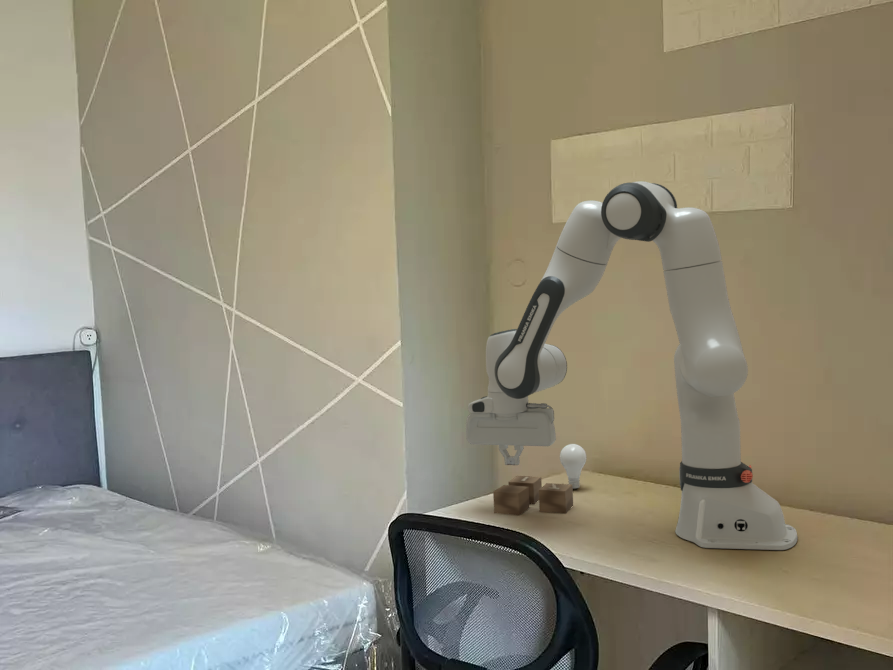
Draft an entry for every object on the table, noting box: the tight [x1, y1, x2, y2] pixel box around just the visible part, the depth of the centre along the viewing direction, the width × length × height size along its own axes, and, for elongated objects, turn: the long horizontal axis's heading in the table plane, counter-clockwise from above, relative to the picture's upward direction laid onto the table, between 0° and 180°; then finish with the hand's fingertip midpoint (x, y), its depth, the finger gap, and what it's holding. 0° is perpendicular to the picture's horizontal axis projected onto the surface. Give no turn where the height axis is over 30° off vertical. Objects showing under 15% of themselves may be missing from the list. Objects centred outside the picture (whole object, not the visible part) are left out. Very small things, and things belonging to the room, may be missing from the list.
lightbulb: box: [559, 443, 587, 490], centre depth 212 cm, size 6×6×11 cm
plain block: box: [492, 484, 531, 516], centre depth 197 cm, size 6×6×5 cm
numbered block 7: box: [538, 482, 574, 514], centre depth 196 cm, size 6×6×5 cm
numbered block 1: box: [507, 475, 543, 505], centre depth 205 cm, size 6×6×5 cm
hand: (512, 464), depth 196 cm, fingers closed
